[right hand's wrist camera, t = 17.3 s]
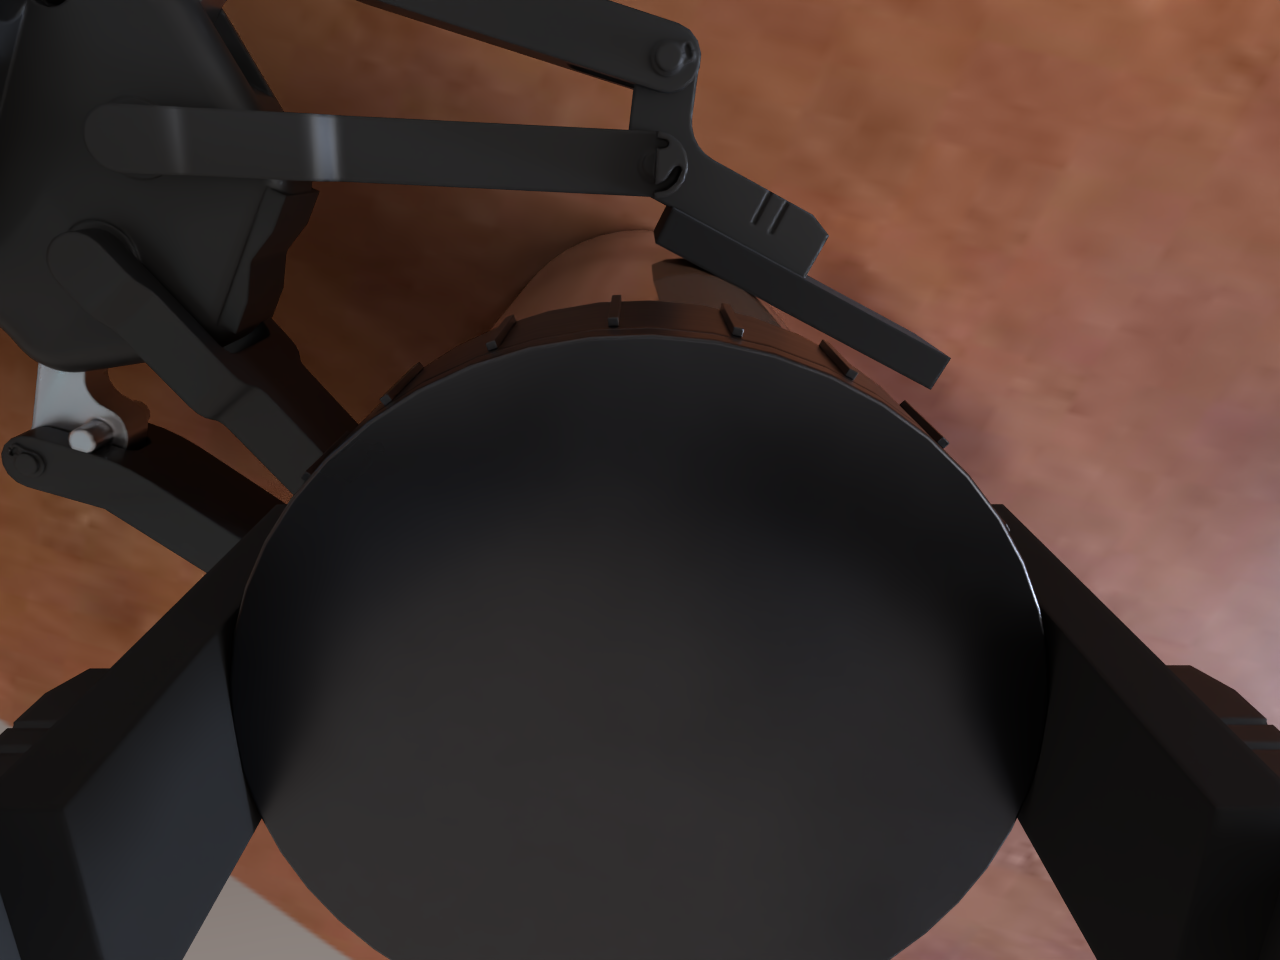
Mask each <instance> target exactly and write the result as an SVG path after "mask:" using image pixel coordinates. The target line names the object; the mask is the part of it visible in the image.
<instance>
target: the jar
mask: <svg viewBox="0 0 1280 960" xmlns="http://www.w3.org/2000/svg"><path fill="white" fill-rule="evenodd" d="M612 295H621V299H622V301H648V300H652V301H663V302H673V303H684V304H694V305H703V306H707V307H712V308H716V309H720V307H721V304H722V303H725V304H729V305H731V307H732V309H733V311H734V312H735V313H738V314H742V315H746V316H751V317H754V318H756V319H759V320H762V321H764V322H767V323H770V324H772V325H775V326H777V327H780V328H783V329H785V330H788V331H790V330H789V329H788V327H787V326H786V325H785V324H784V322H783V321H782V320H781V319H780V318H779V316H778V315H777V314H776V313H775V311H774V310H773V309H772V308H771V307H770V305H769V304H768V303H767V302H765V301H763V300H761V299H759V298H757V297H755V296H753V295H752V294H750V293H748V292H746V291H744V290H742V289H740V288H738V287H737V286H735V285H733V284H731V283H729V282H727V281H725V280H723V279H721V278H720V277H718V276H716V275H714V274H712V273H710V272H708V271H706V270H705V269H703V268H701V267H699V266H697V265H695V264H693V263H691V262H689V261H688V260H686V259H684V258H682V257H680V256H678V255H676V254H674V253H673V252H671V251H669V250H667V249H665V248H663V247H661V246H659V245H657V244H656V243H655V238H654V232H653V231H649V230H631V231H619V232H614V233H609V234H604V235H600V236H597V237H595V238H592V239H589V240H586V241H583V242H581V243H579V244H577V245H575V246H573V247H571V248H569V249H567V250H565V251H564V252H563V253H561V254H560V255H558V256H557V257H555V258H554V259H553V260H551V261H550V262H549V263H547V264H546V265H545V266H544V267H543V268H542V269H541V270H540V271H539V272H538V273H537V274H536V275H535V276H534V277H533V278H532V279H531V281H530V282H529V283H528V284H527V285H526V287H525V288H524V289H523V290H522V292H521V293H520V294H519V295H518V296H517V298H516V299H515V300H514V301H513V302H512V304H511V305H510V306H509V307H508V309H507V310H506V311H505V312H504V313H503V315H502V316H501V317H500V318H499V320H498V321H497V322H496V323H495V324H494V326H493V327H492V328H491V329H490V331H491V330H493V329H495V328H497V327H499V325H500V324H501V323H502V322H503V320H504V319H505V318H506V317H508V316H511V315H514V316H515V319H516V321H518V320H521V319H524V318H528V317H531V316H534V315H537V314H541V313H544V312H547V311H551V310H557V309H563V308H569V307H575V306H581V305H586V304H592V303H598V302H611V299H612Z"/></svg>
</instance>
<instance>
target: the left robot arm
mask: <svg viewBox="0 0 1280 960" xmlns="http://www.w3.org/2000/svg"><path fill="white" fill-rule="evenodd" d="M226 1H227V0H0V327H1V328H2V329H3V330H4V331H5V332H6V333H7V334H8V335H9V336H10V337H11V338H12V339H13V340H14V342H15V343H16V344H17V345H18V346H19V347H20V348H21V349H22V350H23V351H24V352H25V353H26V354H27V355H28V356H29V357H31V358H32V359H34V360H35V361H37V362H38V363H39V364H38V374H37V384H36V394H35V404H34V414H33V424H32V428H31V430H29V431H27V432H25V433H22V434H20V435H18V436H16V437H14V438H12V439H10V440H9V441H8V442H7V443H6V444H5V445H4V448H3V451H2V454H1V455H2V463H3V466H4V467H5V469H6V471H7V473H8V474H9V475H10V476H11V477H12V478H13V479H14V480H15V481H16V482H18V483H20V484H22V485H25V486H27V487H30V488H33V489H37V490H40V491H44V492H47V493H51V494H54V495H58V496H61V497H65V498H68V499H72V500H75V501H79V502H83V503H86V504H90V505H93V506H97V507H100V508H104V509H106V510H107V511H109V512H110V513H112V514H114V515H115V516H117V517H118V518H120V519H122V520H123V521H125V522H126V523H128V524H130V525H131V526H133V527H134V528H136V529H138V530H139V531H141V532H142V533H144V534H146V535H147V536H149V537H150V538H152V539H154V540H155V541H157V542H158V543H160V544H161V545H163V546H165V547H166V548H168V549H169V550H171V551H173V552H174V553H176V554H177V555H179V556H181V557H182V558H184V559H185V560H187V561H189V562H190V563H192V564H193V565H195V566H197V567H198V568H200V569H201V570H203V571H204V572H206V573H207V572H208V571H210V570H211V569H212V568H213V567H214V566H215V565H216V564H217V563H218V562H219V561H220V560H221V559H222V558H223V557H224V556H225V555H226V554H227V553H228V552H229V551H230V550H231V549H232V548H233V547H234V546H235V545H236V544H237V543H238V542H239V541H240V540H241V539H242V538H243V537H244V536H245V535H246V534H247V533H248V532H249V531H250V530H251V529H252V528H253V527H254V526H255V525H256V524H257V523H258V522H259V521H260V520H261V519H262V518H263V517H264V516H265V515H266V514H267V513H268V512H269V511H270V510H271V509H272V508H273V507H274V506H275V505H276V504H285V503H284V502H282V501H281V500H279V499H278V498H276V497H275V496H273V495H272V494H270V493H268V492H267V491H265V490H264V489H262V488H261V487H259V486H258V485H256V484H255V483H253V482H252V481H250V480H249V479H247V478H246V477H244V476H243V475H241V474H240V473H238V472H237V471H235V470H234V469H232V468H231V467H229V466H228V465H226V464H225V463H223V462H221V461H220V460H218V459H217V458H215V457H214V456H212V455H211V454H209V453H208V452H206V451H205V450H203V449H202V448H200V447H199V446H197V445H195V444H194V443H192V442H190V441H188V440H187V439H185V438H183V437H181V436H179V435H177V434H175V433H173V432H171V431H169V430H166V429H164V428H162V427H159V426H156V425H153V424H150V423H148V420H149V418H150V411H149V409H148V407H147V406H146V405H145V404H144V403H143V402H140V401H137V400H135V401H133V400H131V399H129V398H127V397H126V396H124V395H122V394H121V393H120V392H118V391H117V390H116V389H115V388H114V386H113V385H112V383H111V381H110V379H109V376H108V372H107V368H112V367H119V366H125V365H132V364H138V363H145V362H146V363H147V364H148V365H149V366H150V367H151V368H152V369H153V370H154V371H155V372H156V373H157V374H158V375H159V376H160V377H161V378H162V379H163V380H164V382H165V383H166V384H167V385H168V386H169V387H170V388H171V389H172V390H173V391H174V392H175V393H176V394H177V395H178V396H179V397H180V398H181V399H182V400H183V401H184V402H185V403H186V404H187V405H188V406H189V407H190V408H192V409H193V410H194V411H195V412H196V413H198V414H199V415H201V416H203V417H205V418H208V419H212V420H216V421H219V422H221V423H222V424H224V425H225V426H226V427H227V428H228V429H229V430H230V431H231V432H232V433H233V434H234V435H235V436H236V437H237V438H238V439H239V440H240V441H241V442H242V443H243V444H244V445H245V446H246V447H247V448H248V449H249V450H250V451H251V452H252V453H253V454H254V455H255V456H256V457H257V458H258V459H259V460H260V461H261V462H262V463H263V464H264V465H265V466H266V467H267V468H268V470H269V471H270V472H271V473H272V474H273V475H274V476H275V477H276V478H277V479H278V480H279V481H280V482H281V483H282V484H283V485H284V486H285V487H286V488H287V489H288V490H289V491H290V492H291V493H292V494H293V495H294V494H295V493H296V492H297V491H298V490H299V488H300V487H301V486H302V485H303V484H304V483H305V481H304V480H302V479H301V476H302V475H303V474H304V472H305V471H306V470H307V469H308V468H309V467H310V466H311V465H312V464H313V463H314V462H315V461H316V460H317V459H318V458H319V457H320V456H321V455H323V454H324V453H325V452H326V451H327V450H328V449H329V448H330V447H331V446H332V445H333V444H334V443H335V442H336V441H337V440H338V439H339V438H340V437H341V436H342V435H343V434H344V433H345V432H346V431H349V432H350V433H351V432H352V431H353V430H354V429H355V428H356V427H357V426H358V424H357V422H356V421H355V420H354V419H353V418H352V417H351V416H350V415H349V414H348V413H347V412H346V411H345V410H344V409H343V407H342V406H341V405H340V404H339V403H338V402H337V401H336V400H335V399H334V398H333V397H332V396H331V395H330V393H329V392H328V391H327V390H326V389H325V388H324V387H323V386H322V385H321V384H320V383H319V382H318V381H317V380H316V378H315V377H314V376H313V375H312V374H311V373H310V372H309V371H308V370H307V369H306V368H305V366H304V365H303V364H302V362H301V360H300V356H299V351H298V349H297V347H296V345H295V344H294V343H293V342H292V340H291V339H290V338H289V337H288V336H287V335H286V334H285V333H284V331H283V330H282V329H281V328H280V327H279V326H278V325H277V324H276V323H275V322H274V321H273V320H272V318H271V317H272V316H273V314H274V311H275V308H276V306H277V303H278V300H279V298H280V295H281V292H282V290H283V286H284V274H285V261H286V252H287V250H288V248H289V247H290V246H291V244H292V243H293V242H294V240H295V239H296V238H297V236H298V235H299V234H300V232H301V231H302V230H303V228H304V227H305V226H306V224H307V223H308V220H309V218H310V215H311V212H312V210H313V207H314V204H315V202H316V199H317V196H318V194H319V191H318V190H316V189H314V188H312V181H340V182H362V183H382V184H403V185H423V186H443V187H463V188H484V189H504V190H524V191H545V192H565V193H585V194H605V195H626V196H646V197H651V198H653V199H655V200H657V201H659V202H661V203H662V204H664V205H666V208H665V209H664V211H663V213H662V215H661V217H660V219H659V221H658V223H657V225H656V227H655V229H654V231H653V232H654V238H655V243H656V244H657V245H659V246H661V247H663V248H665V249H667V250H669V251H671V252H673V253H674V254H676V255H678V256H680V257H682V258H684V259H686V260H688V261H689V262H691V263H693V264H695V265H697V266H699V267H701V268H703V269H705V270H706V271H708V272H710V273H712V274H714V275H716V276H718V277H720V278H721V279H723V280H725V281H727V282H729V283H731V284H733V285H735V286H737V287H738V288H740V289H742V290H744V291H746V292H748V293H750V294H752V295H753V296H755V297H757V298H759V299H761V300H763V301H765V302H767V303H768V304H770V305H772V306H774V307H776V308H778V309H780V310H782V311H784V312H785V313H787V314H789V315H791V316H793V317H795V318H797V319H799V320H800V321H802V322H804V323H806V324H808V325H810V326H812V327H814V328H816V329H817V330H819V331H821V332H823V333H825V334H827V335H829V336H831V337H832V338H834V339H836V340H838V341H840V342H842V343H844V344H846V345H848V346H849V347H851V348H853V349H855V350H857V351H859V352H861V353H863V354H864V355H866V356H868V357H870V358H872V359H874V360H876V361H878V362H880V363H881V364H883V365H885V366H887V367H889V368H891V369H893V370H895V371H896V372H898V373H900V374H902V375H904V376H906V377H908V378H910V379H912V380H913V381H915V382H917V383H919V384H921V385H923V386H925V387H927V388H928V389H930V390H931V388H932V387H933V385H934V384H935V382H936V381H937V379H938V378H939V376H940V374H941V373H942V371H943V370H944V368H945V367H946V365H947V364H948V362H949V360H950V359H951V358H950V357H948V356H947V355H945V354H944V353H942V352H941V351H939V350H938V349H936V348H935V347H934V346H932V345H931V344H929V343H928V342H926V341H925V340H923V339H922V338H920V337H919V336H917V335H916V334H914V333H913V332H911V331H909V330H907V329H905V328H904V327H902V326H900V325H898V324H896V323H894V322H892V321H891V320H889V319H887V318H885V317H883V316H881V315H880V314H878V313H876V312H874V311H872V310H870V309H868V308H867V307H865V306H863V305H861V304H859V303H857V302H855V301H854V300H852V299H850V298H848V297H846V296H844V295H843V294H841V293H839V292H837V291H835V290H833V289H831V288H830V287H828V286H826V285H824V284H822V283H820V282H819V281H817V280H815V279H813V278H811V277H809V276H807V273H808V272H809V270H810V268H811V266H812V265H813V263H814V261H815V259H816V258H817V256H818V254H819V252H820V251H821V249H822V247H823V245H824V244H825V242H826V240H827V238H828V237H829V235H828V234H827V233H826V231H825V230H824V229H823V227H822V226H821V225H820V224H819V222H818V221H817V220H816V218H815V217H814V216H813V215H812V214H810V213H808V212H807V211H805V210H803V209H801V208H799V207H797V206H796V205H794V204H792V203H790V202H788V201H787V200H785V199H783V198H781V197H779V196H778V195H776V194H774V193H772V192H770V191H769V190H767V189H765V188H763V187H761V186H760V185H758V184H756V183H754V182H752V181H751V180H749V179H747V178H745V177H743V176H742V175H740V174H738V173H736V172H734V171H733V170H731V169H729V168H727V167H725V166H723V165H722V164H720V163H718V162H716V161H714V160H713V159H711V158H710V157H709V156H707V155H706V154H705V153H704V152H703V151H702V150H701V148H700V147H699V146H698V144H697V142H696V140H695V137H694V134H693V129H692V113H693V106H694V99H695V91H696V84H697V77H698V70H699V68H700V59H701V52H700V48H699V44H698V40H697V39H696V38H695V36H694V35H693V34H692V32H691V31H690V30H689V29H687V28H686V27H684V26H682V25H681V24H679V23H676V22H673V21H670V20H667V19H664V18H661V17H658V16H655V15H652V14H649V13H646V12H643V11H640V10H637V9H634V8H631V7H628V6H625V5H622V4H619V3H616V2H613V1H609V0H357V1H359V2H362V3H364V4H368V5H371V6H374V7H377V8H380V9H383V10H386V11H389V12H393V13H396V14H399V15H402V16H405V17H408V18H411V19H414V20H417V21H421V22H424V23H427V24H430V25H433V26H436V27H439V28H442V29H446V30H449V31H452V32H455V33H458V34H461V35H464V36H467V37H471V38H474V39H477V40H480V41H483V42H486V43H489V44H492V45H495V46H499V47H502V48H505V49H508V50H511V51H514V52H517V53H520V54H524V55H527V56H530V57H533V58H536V59H539V60H542V61H545V62H548V63H552V64H555V65H558V66H561V67H564V68H567V69H570V70H573V71H577V72H580V73H583V74H586V75H589V76H592V77H595V78H598V79H601V80H605V81H608V82H611V83H614V84H617V85H620V86H623V87H626V88H630V89H633V97H632V106H631V115H630V124H629V130H618V129H598V128H579V127H559V126H539V125H519V124H499V123H480V122H460V121H440V120H420V119H400V118H381V117H361V116H341V115H325V114H309V113H291V112H284V111H283V109H282V108H281V106H280V104H279V103H278V101H277V99H276V98H275V96H274V94H273V93H272V91H271V89H270V88H269V86H268V84H267V82H266V81H265V79H264V77H263V76H262V74H261V72H260V71H259V69H258V67H257V66H256V64H255V62H254V61H253V59H252V57H251V56H250V54H249V52H248V51H247V49H246V47H245V45H244V44H243V42H242V40H241V39H240V37H239V35H238V34H237V32H236V30H235V29H234V27H233V25H232V24H231V22H230V20H229V19H228V17H227V15H226V14H225V12H224V10H223V9H222V6H223V5H224V3H225V2H226Z"/></svg>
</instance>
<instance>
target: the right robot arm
mask: <svg viewBox="0 0 1280 960" xmlns="http://www.w3.org/2000/svg"><path fill="white" fill-rule="evenodd" d="M991 505H992V506H993V508H994V509H995V510H996V512H997V513H998V514H999V516H1000V517H1001V518H1002V519H1003V520H1004V522H1005V523H1006V524H1007V525H1008V527H1009V529H1010V531H1009V534H1010V536H1011V538H1012V540H1013V542H1014V544H1015V546H1016V547H1017V549H1018V551H1019V553H1020V555H1021V557H1022V559H1023V561H1024V563H1025V566H1026V569H1027V572H1028V575H1029V578H1030V581H1031V584H1032V586H1033V589H1034V592H1035V595H1036V598H1037V601H1038V604H1039V607H1040V612H1041V618H1042V623H1043V629H1044V635H1045V641H1046V646H1047V652H1048V692H1049V703H1048V710H1047V718H1046V724H1045V730H1044V736H1043V742H1042V747H1041V752H1040V757H1039V760H1038V764H1037V767H1036V770H1035V774H1034V777H1033V781H1032V784H1031V787H1030V791H1029V793H1028V795H1027V797H1026V799H1025V801H1024V804H1023V806H1022V808H1021V810H1020V812H1019V814H1018V817H1017V818H1018V820H1019V822H1020V823H1021V825H1022V827H1023V829H1024V831H1025V832H1026V834H1027V836H1028V838H1029V839H1030V841H1031V843H1032V845H1033V847H1034V848H1035V850H1036V852H1037V854H1038V855H1039V857H1040V859H1041V861H1042V863H1043V864H1044V866H1045V868H1046V870H1047V871H1048V873H1049V875H1050V877H1051V879H1052V880H1053V882H1054V884H1055V886H1056V887H1057V889H1058V891H1059V893H1060V895H1061V896H1062V898H1063V900H1064V902H1065V904H1066V905H1067V907H1068V909H1069V911H1070V912H1071V914H1072V916H1073V918H1074V920H1075V921H1076V923H1077V925H1078V927H1079V928H1080V930H1081V932H1082V934H1083V936H1084V937H1085V939H1086V941H1087V943H1088V944H1089V946H1090V948H1091V950H1092V952H1093V953H1094V955H1095V957H1096V959H1097V960H1280V731H1279V730H1278V729H1277V728H1276V727H1275V726H1274V725H1267V722H1266V721H1267V719H1266V718H1265V717H1264V716H1263V715H1262V714H1260V713H1259V712H1258V711H1257V710H1256V709H1255V708H1254V707H1253V706H1252V705H1251V704H1250V703H1248V702H1247V701H1246V700H1245V699H1244V698H1243V697H1242V696H1241V695H1240V694H1239V693H1238V692H1236V691H1235V690H1234V689H1232V688H1230V687H1228V686H1227V685H1225V684H1223V683H1221V682H1219V681H1218V680H1216V679H1214V678H1212V677H1210V676H1209V675H1207V674H1205V673H1203V672H1201V671H1200V670H1198V669H1196V668H1194V667H1192V666H1190V665H1165V664H1164V663H1163V662H1162V661H1161V660H1160V659H1159V658H1158V657H1157V656H1156V655H1155V654H1154V653H1153V652H1152V651H1151V650H1150V649H1149V648H1148V647H1147V646H1146V645H1145V644H1144V643H1143V642H1142V641H1141V640H1140V639H1139V638H1138V637H1137V636H1136V635H1135V634H1134V633H1133V632H1132V631H1131V630H1130V629H1129V628H1128V627H1127V626H1126V625H1125V624H1124V623H1123V622H1122V621H1121V620H1120V619H1119V618H1117V617H1116V616H1115V615H1114V614H1113V613H1112V612H1111V611H1110V610H1109V609H1108V608H1107V607H1106V606H1105V605H1104V604H1103V603H1102V602H1101V601H1100V600H1099V599H1098V598H1097V597H1096V596H1095V595H1094V594H1093V593H1092V592H1091V591H1090V590H1089V589H1088V588H1087V587H1086V586H1085V585H1084V584H1083V583H1082V582H1081V581H1080V580H1079V579H1078V578H1077V577H1076V576H1075V575H1074V574H1073V573H1072V572H1071V571H1070V570H1069V569H1068V568H1067V567H1066V566H1065V565H1064V564H1063V563H1062V562H1061V561H1060V560H1059V559H1058V558H1057V557H1056V556H1055V555H1054V554H1053V553H1052V552H1051V551H1050V550H1049V549H1048V548H1047V547H1046V546H1045V545H1044V544H1043V543H1042V542H1041V541H1039V540H1038V539H1037V538H1036V537H1035V536H1034V535H1033V534H1032V533H1031V532H1030V531H1029V530H1028V529H1027V528H1026V527H1025V526H1024V525H1023V524H1022V523H1021V522H1020V521H1019V520H1018V519H1017V518H1016V517H1015V516H1014V515H1013V514H1012V513H1011V512H1010V511H1009V510H1008V509H1007V508H1006V507H1005V506H1004V505H1003V504H991ZM286 506H287V504H276V505H275V506H274V507H273V508H272V509H271V510H270V511H269V512H268V513H267V514H266V515H265V516H264V517H263V518H262V519H261V520H260V521H259V522H258V523H257V524H256V525H255V526H254V527H253V528H252V529H251V530H250V531H249V532H248V533H247V534H246V535H245V536H244V537H243V538H242V539H241V540H240V541H239V542H238V543H237V544H236V545H235V546H234V547H233V548H232V549H231V550H230V551H229V552H228V553H227V554H226V555H225V556H224V557H223V558H222V559H221V560H220V561H219V562H218V563H217V564H216V565H215V566H214V567H213V568H212V569H211V570H210V571H208V572H207V573H206V574H205V575H204V576H203V577H202V578H201V579H200V580H199V581H198V582H197V583H196V584H195V585H194V586H193V587H192V588H191V589H190V590H189V591H188V592H187V593H186V594H185V595H184V596H183V597H182V598H181V599H180V600H179V601H178V602H177V603H176V604H175V605H174V606H173V607H172V608H171V609H170V610H169V611H168V612H167V613H166V614H165V615H164V616H163V617H162V618H161V619H160V620H159V621H158V622H157V623H156V624H155V625H154V626H153V627H152V628H151V629H150V630H149V631H148V632H147V633H146V634H145V635H144V636H143V637H142V638H141V639H140V640H139V641H138V642H137V643H136V644H135V645H134V646H132V647H131V648H130V649H129V650H128V651H127V652H126V653H125V654H124V655H123V656H122V657H121V658H120V659H119V660H118V661H117V662H116V663H115V664H114V665H113V666H112V667H111V668H110V669H88V670H86V671H84V672H83V673H81V674H79V675H77V676H75V677H74V678H72V679H70V680H68V681H66V682H65V683H63V684H61V685H59V686H57V687H56V688H54V689H52V690H50V691H49V692H47V693H45V694H44V695H43V696H42V697H41V698H40V699H39V700H37V701H36V702H35V703H34V704H33V705H32V706H31V707H30V708H29V709H28V710H27V711H26V712H24V713H23V714H22V715H21V716H20V717H19V718H18V719H17V720H16V721H15V722H14V726H13V728H7V729H6V730H5V731H4V732H3V733H2V734H1V735H0V960H182V959H183V958H184V956H185V954H186V952H187V951H188V949H189V947H190V945H191V943H192V942H193V940H194V938H195V936H196V934H197V933H198V931H199V929H200V927H201V926H202V924H203V922H204V920H205V919H206V917H207V915H208V913H209V911H210V910H211V908H212V906H213V904H214V902H215V901H216V899H217V897H218V895H219V894H220V892H221V890H222V888H223V886H224V885H225V883H226V881H227V879H228V878H229V876H230V874H231V872H232V870H233V869H234V867H235V865H236V863H237V862H238V860H239V858H240V856H241V854H242V853H243V851H244V849H245V847H246V846H247V844H248V842H249V840H250V838H251V837H252V835H253V833H254V831H255V830H256V828H257V826H258V824H259V822H260V821H261V819H262V818H261V816H260V814H259V812H258V809H257V806H256V804H255V801H254V799H253V796H252V794H251V791H250V788H249V786H248V783H247V781H246V778H245V775H244V773H243V769H242V765H241V760H240V755H239V750H238V745H237V739H236V734H235V729H234V723H233V717H232V707H231V693H230V671H231V659H232V648H233V636H234V630H235V626H236V622H237V618H238V614H239V610H240V606H241V602H242V598H243V594H244V590H245V586H246V584H247V582H248V579H249V577H250V574H251V572H252V570H253V567H254V565H255V563H256V560H257V558H258V556H259V553H260V551H261V548H262V546H263V544H264V541H265V540H266V538H267V537H268V535H269V533H270V532H271V530H272V528H273V527H274V525H275V524H276V522H277V520H278V519H279V517H280V516H281V514H282V512H283V511H284V509H285V507H286Z"/></svg>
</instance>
